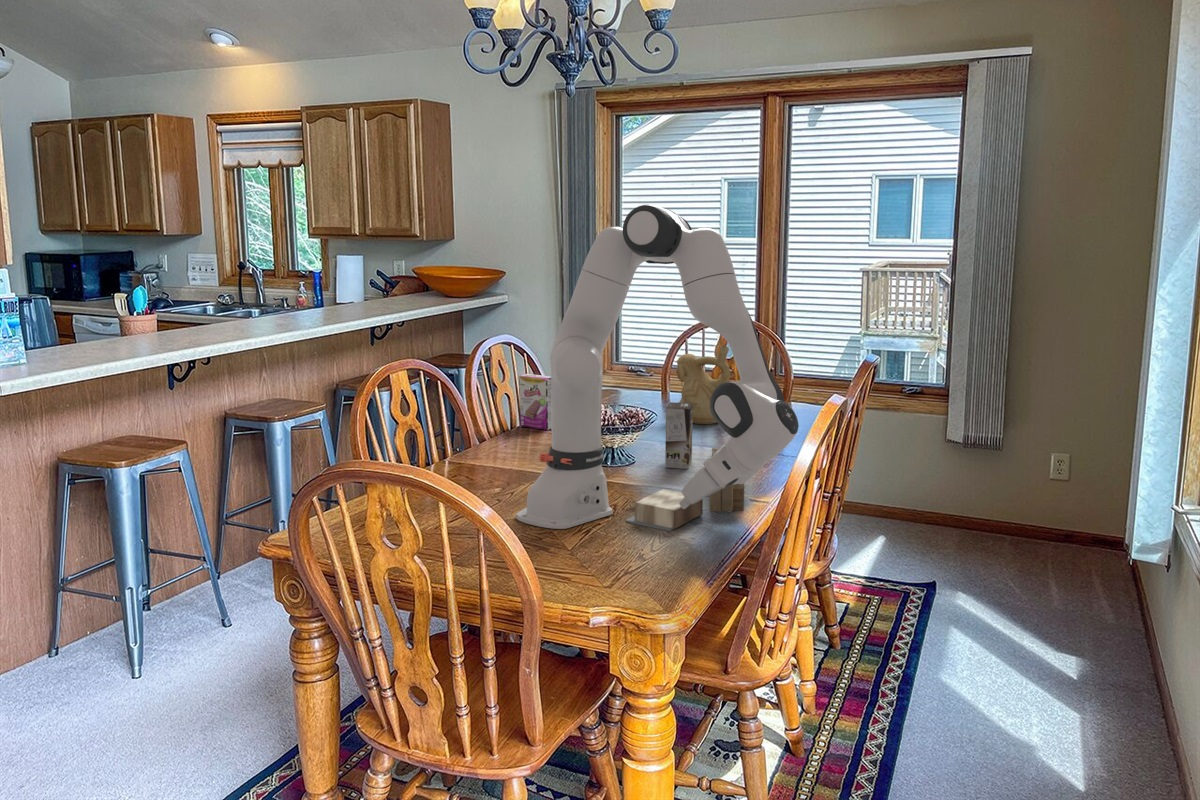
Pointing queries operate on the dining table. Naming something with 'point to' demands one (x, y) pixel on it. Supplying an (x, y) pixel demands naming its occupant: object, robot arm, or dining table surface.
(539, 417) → the candy bar box
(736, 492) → the block tower
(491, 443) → the dining table surface
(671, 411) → the coffee box
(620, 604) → the dining table surface
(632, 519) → the mat
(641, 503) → the maple block
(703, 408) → the ceramic vessel
